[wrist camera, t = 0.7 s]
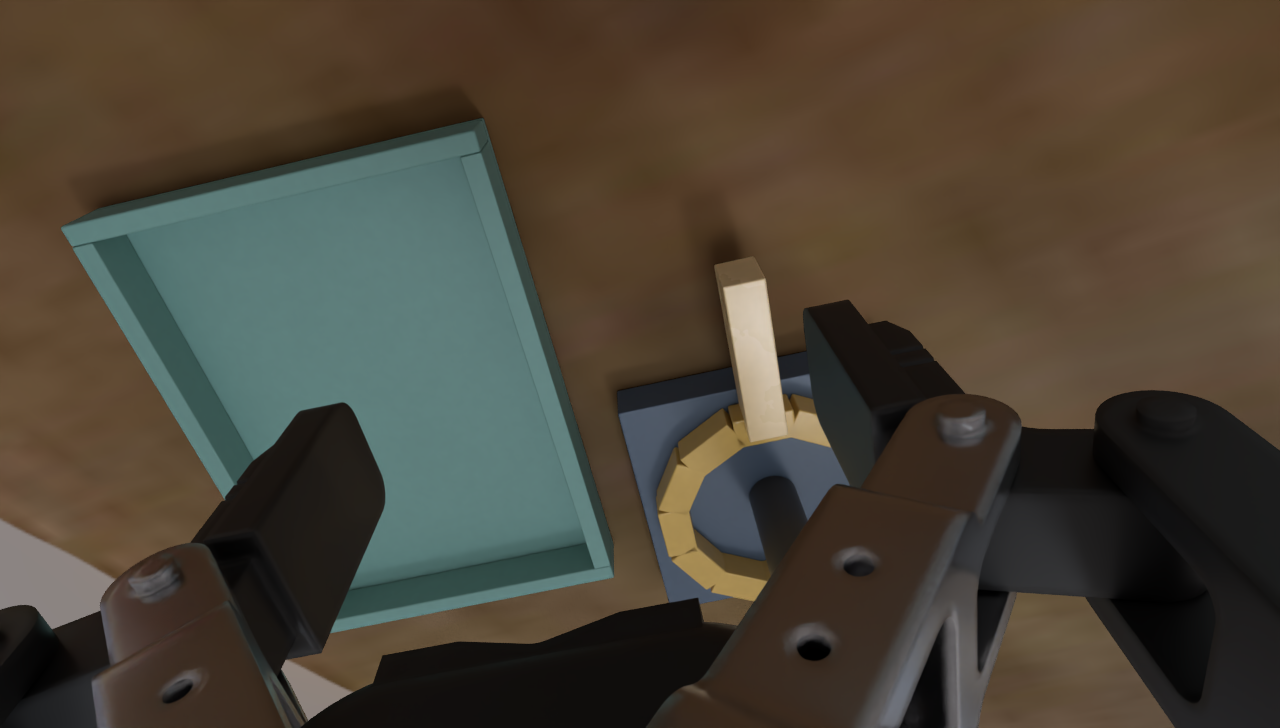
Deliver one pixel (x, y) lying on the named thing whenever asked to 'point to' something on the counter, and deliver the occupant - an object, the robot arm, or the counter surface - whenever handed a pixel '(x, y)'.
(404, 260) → the key tray
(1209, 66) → the counter surface
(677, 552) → the ring
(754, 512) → the key stand
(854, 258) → the counter surface
